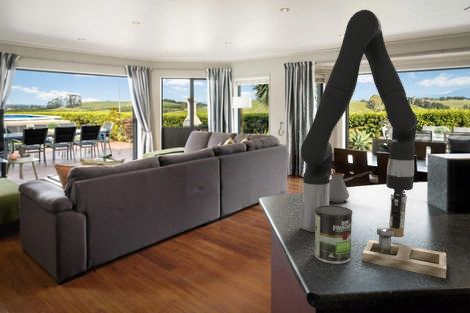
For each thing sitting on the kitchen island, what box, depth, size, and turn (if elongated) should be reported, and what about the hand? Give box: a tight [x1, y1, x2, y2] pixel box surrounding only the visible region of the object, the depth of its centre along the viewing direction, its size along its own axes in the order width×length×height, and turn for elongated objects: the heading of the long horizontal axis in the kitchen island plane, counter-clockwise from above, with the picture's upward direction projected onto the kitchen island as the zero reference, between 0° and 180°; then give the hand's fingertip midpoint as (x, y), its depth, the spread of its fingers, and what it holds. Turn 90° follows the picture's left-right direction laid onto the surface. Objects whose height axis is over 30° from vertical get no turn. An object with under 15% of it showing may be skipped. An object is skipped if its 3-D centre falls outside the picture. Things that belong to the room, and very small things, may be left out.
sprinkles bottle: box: [388, 194, 408, 238], centre depth 105 cm, size 5×5×13 cm
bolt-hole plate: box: [361, 239, 447, 279], centre depth 92 cm, size 20×11×2 cm, turn 58°
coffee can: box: [314, 204, 353, 265], centre depth 96 cm, size 10×10×14 cm
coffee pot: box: [329, 170, 373, 203], centre depth 156 cm, size 21×12×15 cm, turn 71°
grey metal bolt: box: [376, 227, 394, 255], centre depth 95 cm, size 4×4×8 cm
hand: (396, 225), depth 105 cm, fingers closed on sprinkles bottle, 4 cm apart
